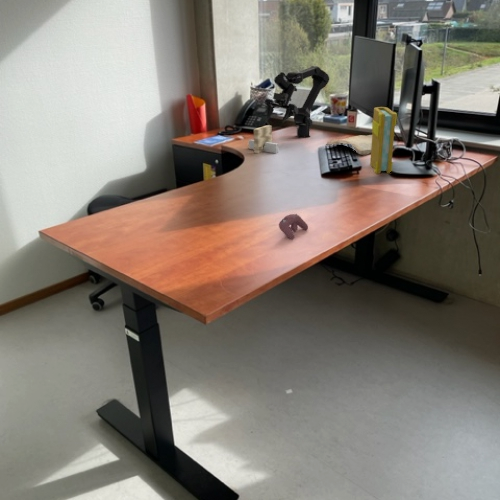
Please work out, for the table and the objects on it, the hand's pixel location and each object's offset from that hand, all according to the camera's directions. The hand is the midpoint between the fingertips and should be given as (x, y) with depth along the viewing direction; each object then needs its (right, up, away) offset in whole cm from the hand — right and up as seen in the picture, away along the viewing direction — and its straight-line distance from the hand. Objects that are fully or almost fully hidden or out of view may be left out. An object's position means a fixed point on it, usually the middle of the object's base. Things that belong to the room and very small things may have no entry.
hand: (274, 120), depth 254 cm
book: (+45, -32, -40) cm, 68 cm away
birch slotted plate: (-6, -17, -3) cm, 18 cm away
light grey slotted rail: (-6, -17, -4) cm, 18 cm away
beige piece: (+41, -17, -8) cm, 45 cm away
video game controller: (+1, -63, -99) cm, 118 cm away
